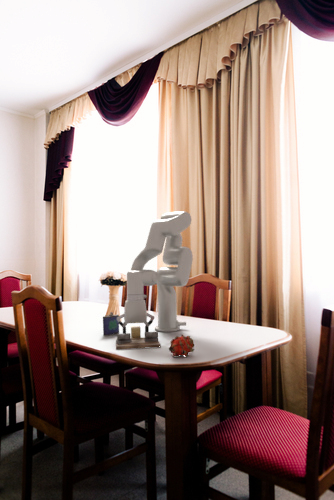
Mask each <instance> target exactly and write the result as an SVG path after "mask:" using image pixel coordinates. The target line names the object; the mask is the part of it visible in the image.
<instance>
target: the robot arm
mask: <svg viewBox="0 0 334 500" xmlns="http://www.w3.org/2000/svg"><path fill="white" fill-rule="evenodd" d="M191 224H192V216H191V214H190V213H189V212H188V211H185V210H184V211H171V212H166V213H164V214H162V215H161V216H160V219H157V220H154V221H152V223H151V225H150V229H149V232H148V236H147V240H146V243H145V247H144V248H143V249H142V250H141V251H140V252H139V254H138V255H137V256H136V257H135V259H134V260H133V261H132V265H131V267H130V270H129V271H127V273H126V300H125V302H124V312H123V313H122V314H121V315H119V317H117V318H116V319H117V321H118V323H119V326H120V327H122V334H126V333H127V327H126V326H127V325H128V324H145V327H144V333H145V332H150V331H149V327H150V326H151V324H152V323H153V322H154V319H155V316H154V315H152V314H151V313H149V312H147V311H148V310H147V306H146V305H147V303H146V300H145V299H147V297H148V295H147V294H144V286H146V287H147V286H148V287H151V286H154V285H156V288H157V290H156V291H157V326H155V328H154V331H155V332H160V333H161V332H162V333H168V332H169V333H171V332H173V333H174V332H177V331H180V330H181V326H184V327H185V326H187V321H179V320H178V313H177V312H178V311H177V310H178V309H177V307H178V306H177V304H178V303H177V301H178V300H177V299H178V298H177V292H176V289H175V287H179V288H180V287H181V288H182V287H185V286H186V285H187V284H188V282H189V279H190V275H191V271H192V265H193V260H194V258H193V252H192V250H191V249H190V247H187V246H182V245H183V236H182V232H184V231H186V230H187V229H188V228H189V227H190V226H191ZM162 253H163V254H162ZM161 254H162V263H163V264H165V265H167V266H164V267H163V266H162V267H160V268H158V269H157V270H154V269H144V267H145V266H146V264H147V263H148V262H149V261H150V260H152V259H154V258H156V257H158V256H159V255H161ZM148 318H150V319H149V321H148ZM121 319H124V321H123V322H122V321H121Z"/></svg>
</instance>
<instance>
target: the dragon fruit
mask: <svg viewBox="0 0 334 500" xmlns="http://www.w3.org/2000/svg"><path fill="white" fill-rule="evenodd" d="M194 343H195V342H194V340H193V339H192V337H191V336H190V335H187V336H185V335H184V334H181V336H178V335H176V336H175V338H173V339H171V340H170V346H169V347H168V350H169V352H170V353H171V354H172V356H179V355H182V356H183V355H185V356H186V357H187V355H188V354H190V353H194V351H195V348H194V347H195V344H194ZM188 356H189V355H188Z"/></svg>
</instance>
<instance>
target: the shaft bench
mask: <svg viewBox="0 0 334 500" xmlns="http://www.w3.org/2000/svg"><path fill="white" fill-rule="evenodd" d="M159 346H160V347H161V343H160V341H159V331H149V332H145V331H144V337H141V338H131V332H129V333H127V332H126V334H123V333H117V334H116V338H115V349H116V350H127V349H128V350H129V349H131V348H136V349H146V348H145V347H157V348H160V347H159ZM131 350H132V349H131Z"/></svg>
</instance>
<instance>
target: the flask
mask: <svg viewBox="0 0 334 500" xmlns="http://www.w3.org/2000/svg"><path fill="white" fill-rule="evenodd" d="M114 313H115V312H113V311H110V313H108V314H107V315H104V316H102V326H103V327H102V328H103V329H102V330H103V332H102V333H103V335H102V336H103V337H107V336H113V335H117V334H120V324H119V323H118V321H117V319H116V318H117V317H119V316H120V315H119V314H114Z"/></svg>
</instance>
